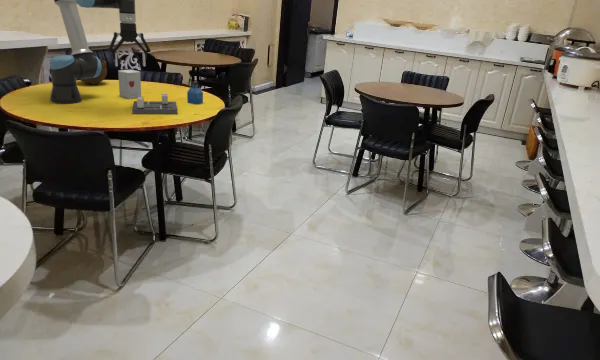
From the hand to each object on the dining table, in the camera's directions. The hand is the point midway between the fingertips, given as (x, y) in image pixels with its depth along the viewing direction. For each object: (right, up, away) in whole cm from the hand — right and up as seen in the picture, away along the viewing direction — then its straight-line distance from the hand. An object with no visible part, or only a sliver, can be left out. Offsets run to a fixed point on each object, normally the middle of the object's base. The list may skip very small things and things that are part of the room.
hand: (130, 66), depth 234 cm
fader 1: (+5, -21, +2) cm, 21 cm away
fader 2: (+13, -17, +14) cm, 26 cm away
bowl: (-46, +3, +59) cm, 75 cm away
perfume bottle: (+26, -14, +31) cm, 43 cm away
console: (+10, -21, +9) cm, 25 cm away
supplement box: (-12, -10, +33) cm, 37 cm away
